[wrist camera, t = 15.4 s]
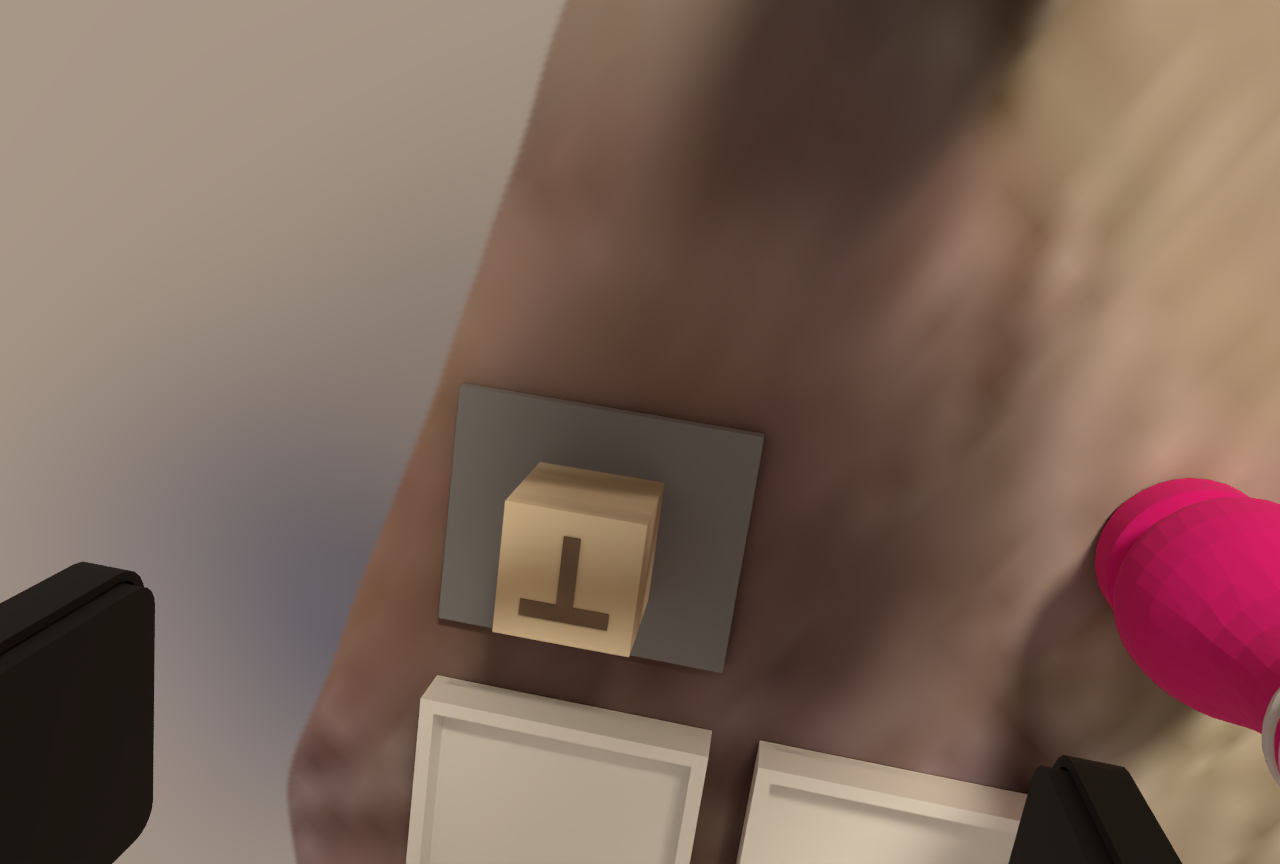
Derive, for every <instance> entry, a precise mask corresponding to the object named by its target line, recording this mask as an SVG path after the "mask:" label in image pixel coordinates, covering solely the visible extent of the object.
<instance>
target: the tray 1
mask: <svg viewBox="0 0 1280 864" xmlns="http://www.w3.org/2000/svg"><path fill="white" fill-rule="evenodd" d="M711 735H712V730H707V729H702V728H697V727H692V726H687V725H682V724H677V723H672V722H667V721H662V720H657V719H652V718H647V717H642V716H637V715H632V714H627V713H623V712H618V711H613V710H608V709H603V708H598V707H593V706H588V705H583V704H578V703H573V702H568V701H563V700H558V699H553V698H548V697H543V696H538V695H533V694H529V693H524V692H519V691H514V690H509V689H504V688H499V687H494V686H489V685H484V684H479V683H474V682H469V681H464V680H459V679H454V678H449V677H444V676H440V675H437V676H436V677H435V679H434V680H433V682H432V683H431V684H430V686H429V687H428V689H427V690H426V691H425V693H424V694H423V696H422V697H421V700H420V711H419V723H418V734H417V745H416V756H415V768H414V779H413V790H412V801H411V812H410V824H409V835H408V846H407V857H406V864H690V859H691V853H692V847H693V842H694V836H695V831H696V825H697V819H698V814H699V808H700V802H701V797H702V791H703V785H704V780H705V774H706V768H707V763H708V757H709V750H710V743H711Z"/></svg>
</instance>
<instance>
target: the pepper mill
mask: <svg viewBox="0 0 1280 864" xmlns="http://www.w3.org/2000/svg"><path fill="white" fill-rule="evenodd" d="M1095 571H1096V578H1097V581H1098V584H1099V588H1100V590H1101V592H1102V594H1103V596H1104V598H1105V599H1106V601H1107V602H1108V604H1109V605H1110V606H1111V608H1112V609H1113V613H1114V617H1115V622H1116V627H1117V630H1118V632H1119V635H1120V637H1121V640H1122V643H1123V645H1124V647H1125V648H1126V650H1127V652H1128V653H1129V655H1130V657H1131V658H1132V659H1133V661H1134V662H1135V663H1136V664H1137V665H1138V666H1139V667H1140V668H1141V669H1142V671H1143V672H1144V673H1145V674H1146V675H1147V676H1148V677H1149V678H1150V679H1151V680H1152V681H1153V682H1154V683H1155V684H1156V685H1158V686H1159V687H1160V688H1161V689H1163V690H1164V691H1165V692H1166V693H1167V694H1169V695H1170V696H1172V697H1174V698H1175V699H1177V700H1179V701H1181V702H1182V703H1184V704H1186V705H1188V706H1190V707H1191V708H1193V709H1195V710H1197V711H1199V712H1201V713H1203V714H1206V715H1208V716H1211V717H1213V718H1216V719H1219V720H1223V721H1226V722H1230V723H1233V724H1236V725H1240V726H1243V727H1247V728H1249V729H1252V730H1255V731H1257V732H1259V733H1261V734H1262V749H1263V753H1264V757H1265V761H1266V763H1267V766H1268V768H1269V771H1270V773H1271V774H1272V776H1273V778H1274V779H1275V781H1276V782H1277V783H1278V785H1279V786H1280V504H1277V503H1274V502H1271V501H1268V500H1262V499H1255V498H1250V497H1248V496H1247V495H1245V494H1244V493H1242V492H1241V491H1239V490H1237V489H1235V488H1233V487H1231V486H1229V485H1227V484H1223V483H1220V482H1216V481H1212V480H1207V479H1195V478H1184V479H1175V480H1170V481H1166V482H1162V483H1158V484H1156V485H1154V486H1151V487H1149V488H1147V489H1144V490H1142V491H1141V492H1139V493H1138V494H1136V495H1135V496H1133V497H1131V498H1130V499H1128V500H1127V501H1126V502H1125V503H1123V504H1122V505H1121V506H1120V507H1119V508H1118V509H1117V510H1116V511H1115V513H1114V514H1113V515H1112V516H1111V518H1110V519H1109V521H1108V522H1107V524H1106V526H1105V527H1104V529H1103V531H1102V533H1101V535H1100V538H1099V541H1098V544H1097V550H1096V556H1095Z"/></svg>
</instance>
